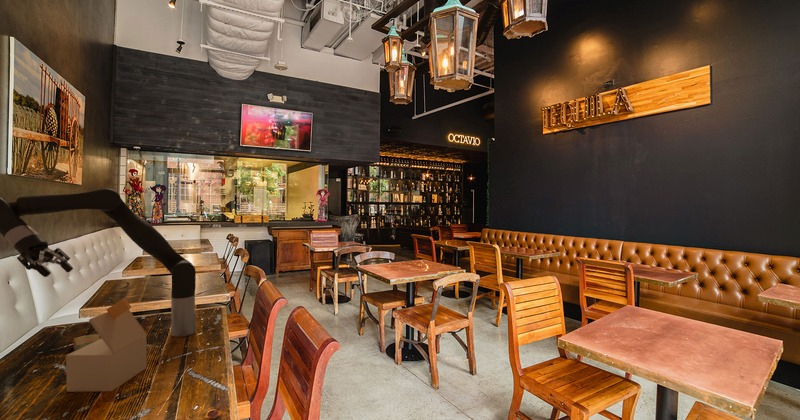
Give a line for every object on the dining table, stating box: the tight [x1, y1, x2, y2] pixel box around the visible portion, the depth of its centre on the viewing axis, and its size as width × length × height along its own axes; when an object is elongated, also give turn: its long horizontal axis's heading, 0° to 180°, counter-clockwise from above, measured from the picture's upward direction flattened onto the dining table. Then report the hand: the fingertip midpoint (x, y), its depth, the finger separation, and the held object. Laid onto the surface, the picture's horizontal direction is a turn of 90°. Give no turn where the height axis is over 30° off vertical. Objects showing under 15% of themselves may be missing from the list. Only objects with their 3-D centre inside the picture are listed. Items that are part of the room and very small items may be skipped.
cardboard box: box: [65, 335, 147, 393], centre depth 121 cm, size 14×16×12 cm
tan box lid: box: [88, 297, 148, 353], centre depth 121 cm, size 14×15×7 cm
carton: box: [72, 333, 101, 352], centre depth 144 cm, size 8×16×4 cm, turn 45°
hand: (59, 272), depth 127 cm, fingers open, 8 cm apart
